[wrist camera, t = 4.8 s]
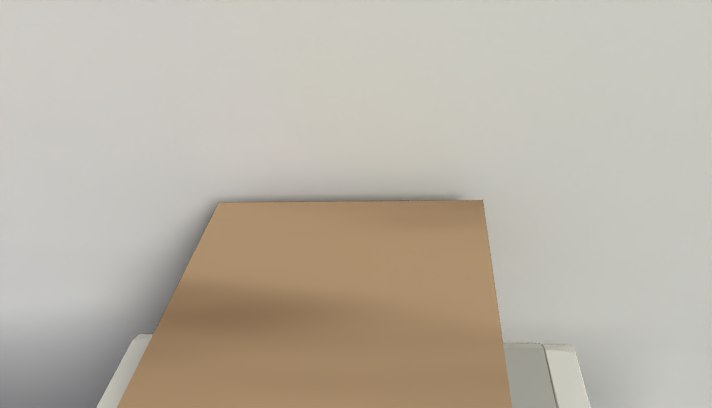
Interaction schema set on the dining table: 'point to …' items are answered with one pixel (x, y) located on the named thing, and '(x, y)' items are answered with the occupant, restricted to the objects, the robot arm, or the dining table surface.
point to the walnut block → (331, 311)
